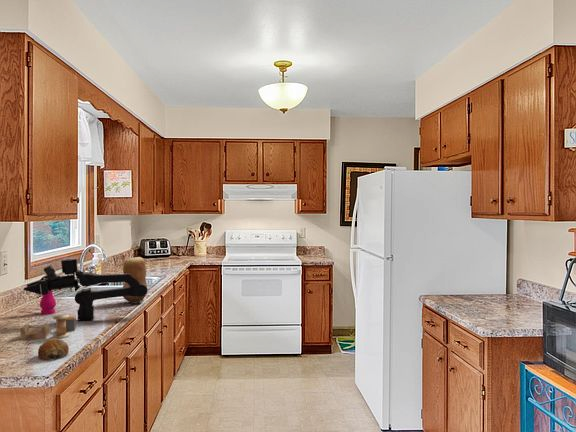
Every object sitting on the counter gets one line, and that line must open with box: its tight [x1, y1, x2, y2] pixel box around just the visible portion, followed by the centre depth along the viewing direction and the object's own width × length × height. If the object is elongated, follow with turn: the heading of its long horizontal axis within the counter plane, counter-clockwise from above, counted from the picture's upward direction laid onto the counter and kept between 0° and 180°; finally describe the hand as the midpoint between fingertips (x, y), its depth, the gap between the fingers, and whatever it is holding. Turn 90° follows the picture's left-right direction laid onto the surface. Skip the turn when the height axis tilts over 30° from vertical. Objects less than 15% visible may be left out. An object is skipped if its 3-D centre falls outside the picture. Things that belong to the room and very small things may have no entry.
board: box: [20, 322, 52, 341], centre depth 209 cm, size 9×11×4 cm
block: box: [66, 314, 77, 332], centre depth 219 cm, size 4×4×6 cm
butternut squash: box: [122, 256, 149, 304], centre depth 277 cm, size 14×13×25 cm
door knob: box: [52, 313, 70, 339], centre depth 207 cm, size 6×6×8 cm
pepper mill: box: [39, 273, 57, 316], centre depth 251 cm, size 7×7×20 cm
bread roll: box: [37, 337, 70, 361], centre depth 181 cm, size 10×10×8 cm
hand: (25, 287), depth 229 cm, fingers open, 9 cm apart
